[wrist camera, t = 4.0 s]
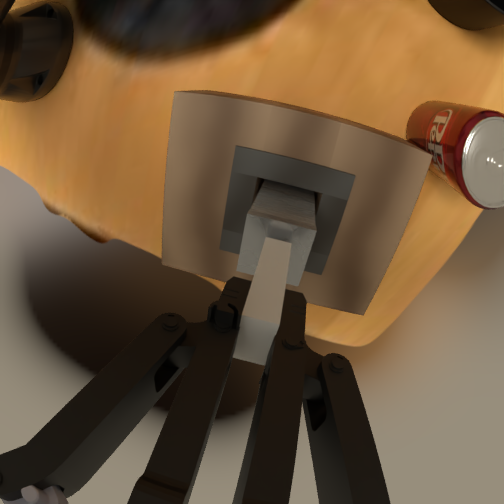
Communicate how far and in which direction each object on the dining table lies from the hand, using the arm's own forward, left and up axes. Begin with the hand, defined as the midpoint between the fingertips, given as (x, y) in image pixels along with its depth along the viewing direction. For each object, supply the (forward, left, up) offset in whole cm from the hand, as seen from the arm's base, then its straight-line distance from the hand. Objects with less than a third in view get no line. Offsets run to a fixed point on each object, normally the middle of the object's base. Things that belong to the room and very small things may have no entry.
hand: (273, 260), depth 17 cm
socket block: (0, 0, -15) cm, 15 cm away
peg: (0, 0, -9) cm, 9 cm away
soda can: (+13, +10, -15) cm, 22 cm away
